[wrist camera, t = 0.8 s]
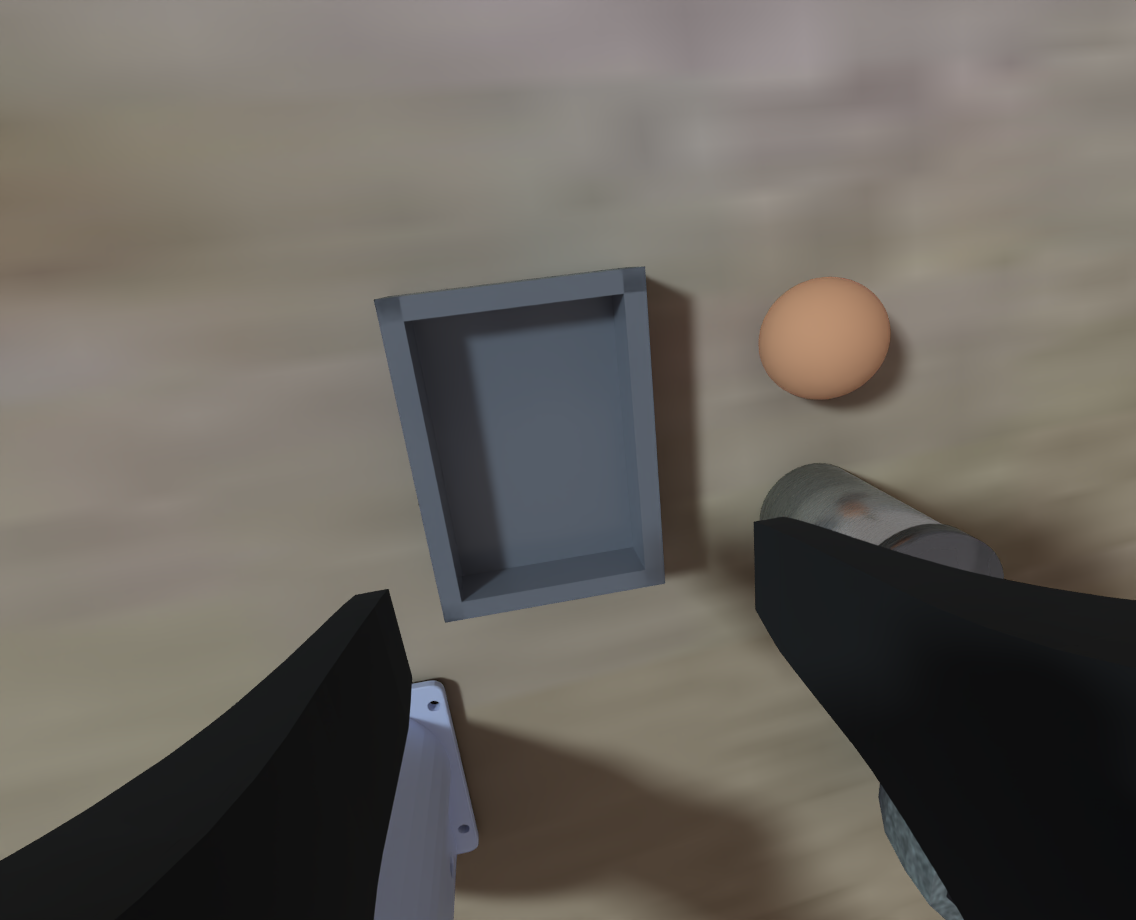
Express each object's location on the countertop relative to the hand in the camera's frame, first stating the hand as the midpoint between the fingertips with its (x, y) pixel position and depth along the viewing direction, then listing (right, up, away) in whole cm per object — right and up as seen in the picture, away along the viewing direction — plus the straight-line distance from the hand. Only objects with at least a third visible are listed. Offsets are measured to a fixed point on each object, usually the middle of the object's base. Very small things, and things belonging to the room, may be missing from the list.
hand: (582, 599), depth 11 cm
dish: (-2, +4, +10) cm, 10 cm away
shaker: (+10, +1, +12) cm, 16 cm away
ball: (+8, +7, +10) cm, 15 cm away
